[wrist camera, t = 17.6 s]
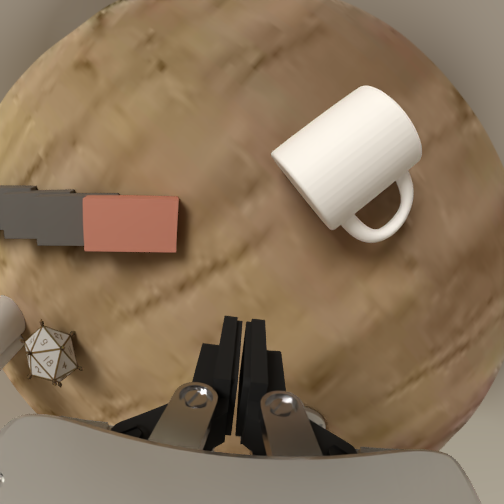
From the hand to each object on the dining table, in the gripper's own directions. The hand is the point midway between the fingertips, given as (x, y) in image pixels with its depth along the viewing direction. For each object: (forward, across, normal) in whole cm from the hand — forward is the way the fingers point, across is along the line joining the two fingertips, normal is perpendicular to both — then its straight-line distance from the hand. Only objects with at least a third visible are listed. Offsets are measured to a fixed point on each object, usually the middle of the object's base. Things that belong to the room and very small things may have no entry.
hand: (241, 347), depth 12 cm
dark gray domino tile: (+16, +19, -1) cm, 25 cm away
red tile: (+17, +7, -1) cm, 18 cm away
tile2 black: (+17, +13, -1) cm, 21 cm away
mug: (+18, -8, -8) cm, 21 cm away
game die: (+18, +24, +17) cm, 34 cm away
